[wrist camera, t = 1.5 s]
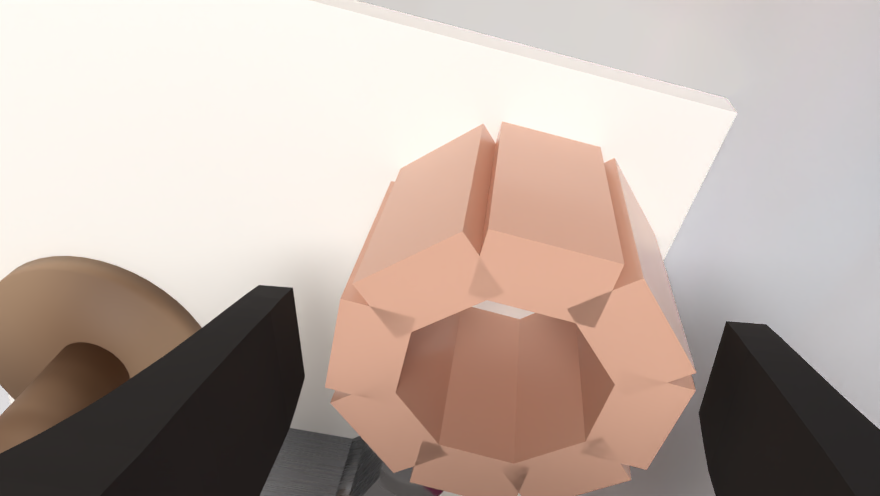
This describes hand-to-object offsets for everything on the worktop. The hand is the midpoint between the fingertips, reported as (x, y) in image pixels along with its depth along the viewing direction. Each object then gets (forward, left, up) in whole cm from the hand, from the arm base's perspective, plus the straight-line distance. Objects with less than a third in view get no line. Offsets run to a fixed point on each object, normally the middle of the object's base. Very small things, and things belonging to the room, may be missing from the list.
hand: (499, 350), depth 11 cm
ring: (0, 0, -3) cm, 3 cm away
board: (+4, +4, -4) cm, 7 cm away
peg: (+9, +6, -3) cm, 11 cm away
